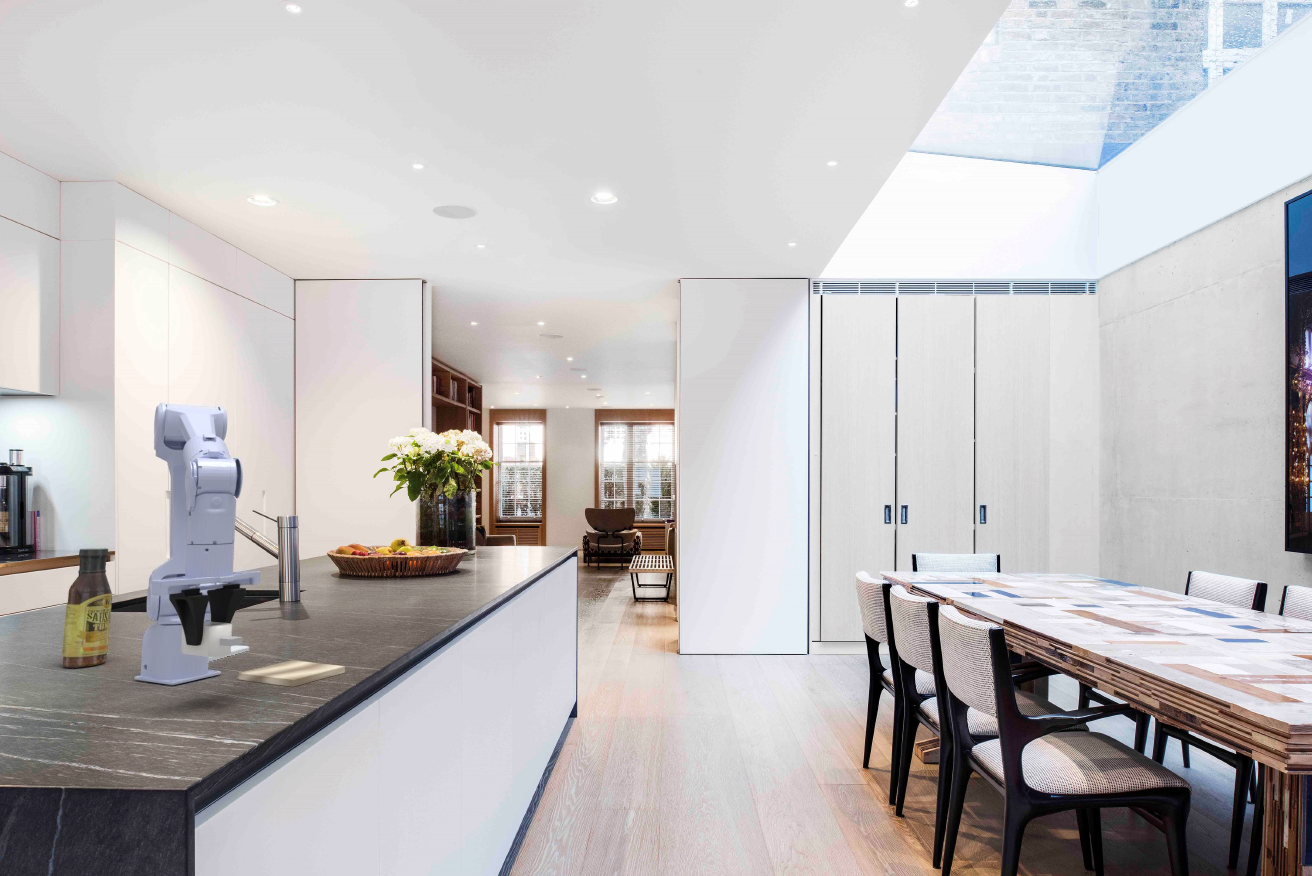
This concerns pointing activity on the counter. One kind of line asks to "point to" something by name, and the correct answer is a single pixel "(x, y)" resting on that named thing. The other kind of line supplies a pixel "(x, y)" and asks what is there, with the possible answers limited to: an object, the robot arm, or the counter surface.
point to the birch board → (291, 673)
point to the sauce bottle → (88, 612)
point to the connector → (213, 640)
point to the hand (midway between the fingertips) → (206, 642)
